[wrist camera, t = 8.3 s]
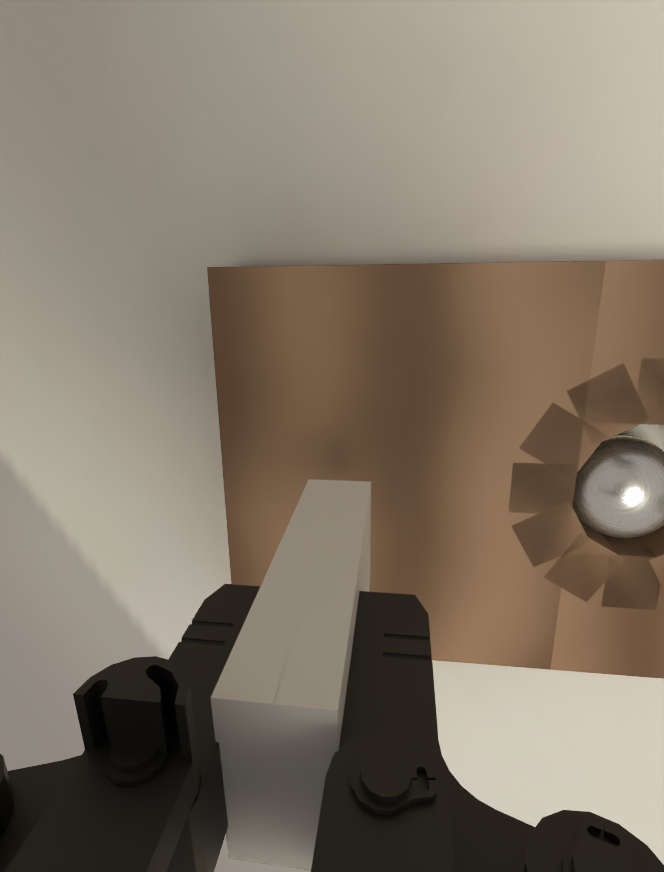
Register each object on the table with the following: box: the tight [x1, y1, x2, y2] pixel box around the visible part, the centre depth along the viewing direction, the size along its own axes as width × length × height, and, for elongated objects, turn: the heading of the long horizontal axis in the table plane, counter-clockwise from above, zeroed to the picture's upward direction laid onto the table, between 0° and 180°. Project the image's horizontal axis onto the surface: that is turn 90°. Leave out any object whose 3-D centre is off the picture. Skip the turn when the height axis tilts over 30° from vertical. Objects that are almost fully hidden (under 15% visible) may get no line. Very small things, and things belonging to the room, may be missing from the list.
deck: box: [207, 260, 664, 678], centre depth 18 cm, size 20×14×2 cm
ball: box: [573, 435, 664, 538], centre depth 17 cm, size 3×3×3 cm
